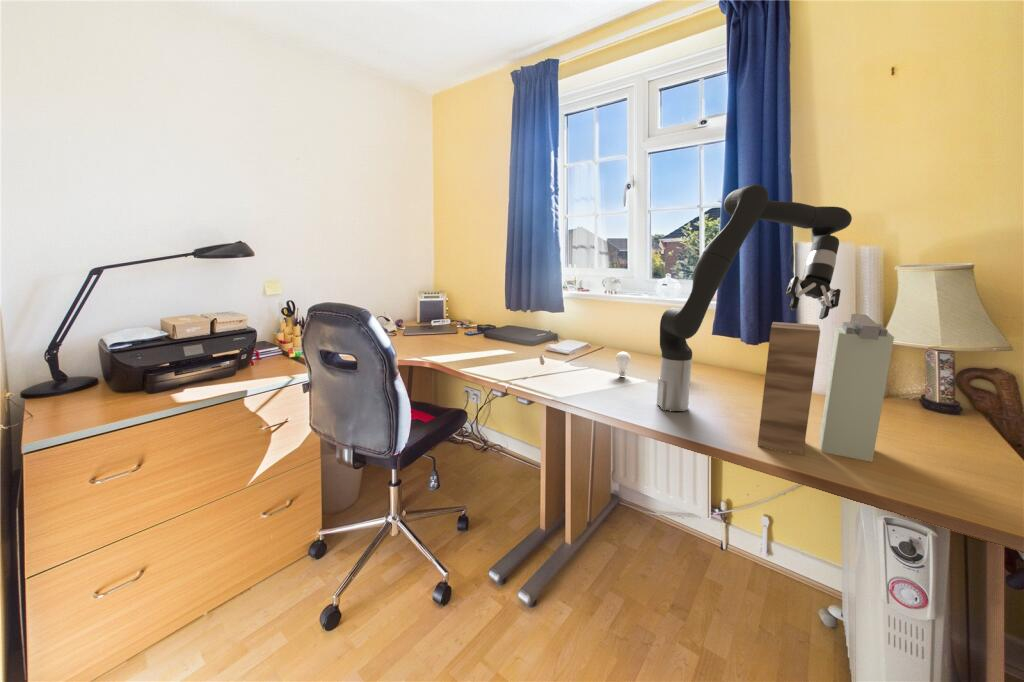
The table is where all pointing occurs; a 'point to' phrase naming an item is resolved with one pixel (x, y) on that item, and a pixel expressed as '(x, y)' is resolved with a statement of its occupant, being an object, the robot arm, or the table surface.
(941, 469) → the table surface
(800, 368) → the walnut stand
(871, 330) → the axle bar
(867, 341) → the cradle stand
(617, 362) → the lightbulb
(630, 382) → the table surface
